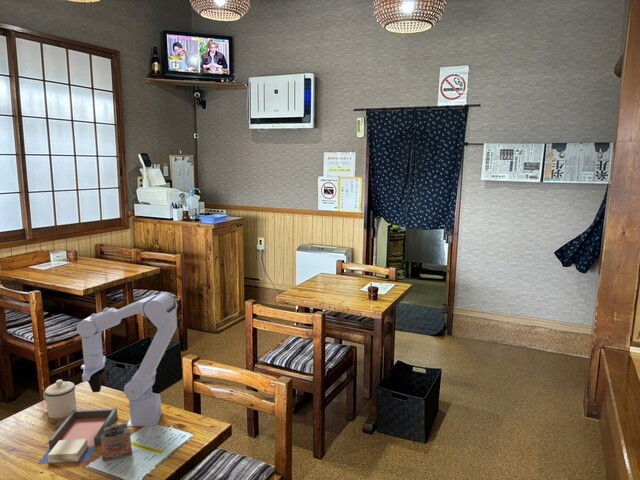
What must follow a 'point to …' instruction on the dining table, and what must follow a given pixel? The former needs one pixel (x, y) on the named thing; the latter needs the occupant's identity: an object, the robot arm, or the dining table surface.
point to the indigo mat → (84, 457)
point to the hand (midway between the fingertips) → (96, 391)
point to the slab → (67, 450)
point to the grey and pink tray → (84, 426)
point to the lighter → (116, 442)
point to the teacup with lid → (60, 399)
